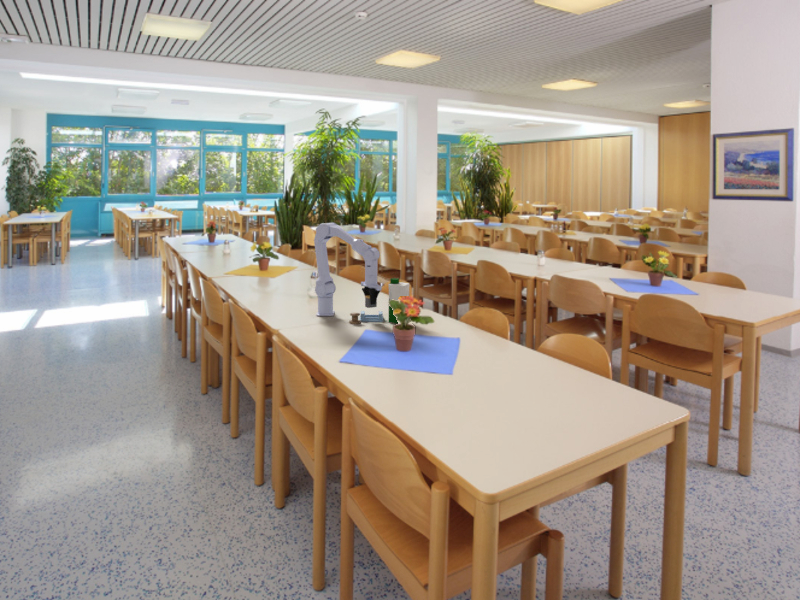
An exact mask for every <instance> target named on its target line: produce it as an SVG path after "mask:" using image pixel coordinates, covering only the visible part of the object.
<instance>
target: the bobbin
mask: <svg viewBox="0 0 800 600" xmlns="http://www.w3.org/2000/svg"><path fill="white" fill-rule="evenodd" d="M349 315H350V316H351V319H349V321H348V323H349V324H352V325H358V324H361V323H362V322H361V321H360V319H359V316H361V312H350V313H349Z"/></svg>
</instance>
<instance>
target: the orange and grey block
mask: <svg viewBox="0 0 800 600" xmlns="http://www.w3.org/2000/svg"><path fill="white" fill-rule="evenodd" d="M377 300H378V299H377ZM377 300H376V303H375V304H373V305H371V302H370V295H367V296H365V295H364V301H365V302H364V305H365V308H368V309H370V308H371V309H372V308H377V305H378V301H377Z"/></svg>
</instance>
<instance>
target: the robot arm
mask: <svg viewBox="0 0 800 600" xmlns="http://www.w3.org/2000/svg"><path fill="white" fill-rule="evenodd" d="M333 237H338V238H339V239H341V240H342V241H344V242H345V243H347V244H349V245H350V246H351V249H352V250H353V251H354V252H356V253H358V254H359V255H360V256H361V257H362V258H363V260H364V281H360V286H361V287H362V288H361V291H362V292H363V295H364V297H365V296H367V295H370V302H371V305H373V304H375V303H376V300H378V296H379V294H380V293H381V292H382V290H383V289H382V288H383V287H382V286H381V285H380V284H378V267H379V266H378V263H379V262H378V260H379V259H380V256H381V255H380V254H381V253H380V250H379V249H378V248H377V247H372V245H370V244H367V243H366V242H364V239H362V238H355V237H354V236H352V235H351V234H350V233H348V232H347V231H346V230H345V229H343V228H342V227H341V225H339V224H337V223H336V222H325V223H324V222H322V223H320V224H318V226H317V227H316V228H315V235H314V239H313V241H314V250H315V252H314V253H315V259H316V267H317V276H318V277H317V279H316V280H315V287H314V291H315V292H314V293H315V294H316V295H317V313H316V316H317V317H318V316H319V317H333V316H334V315H335V310H334V293H335V292H336V289H337V288H336V284H335V283H334V279H333V277H332V276H331V274H330V273H331V272H330V266H329V265H330V264H329V256H328V249H327V247H328V246H327V243H328V242H329V241H330V239H331V238H333Z"/></svg>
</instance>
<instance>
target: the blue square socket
mask: <svg viewBox="0 0 800 600" xmlns="http://www.w3.org/2000/svg"><path fill="white" fill-rule="evenodd" d="M383 313H384V312H383V311H381V310H379V311H378V314H366V311H365V310H361V311H360V315H359V316H360V317H359V320H360V321H361V323H363V322H364V323H365V322H366V323H384V314H383Z"/></svg>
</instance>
